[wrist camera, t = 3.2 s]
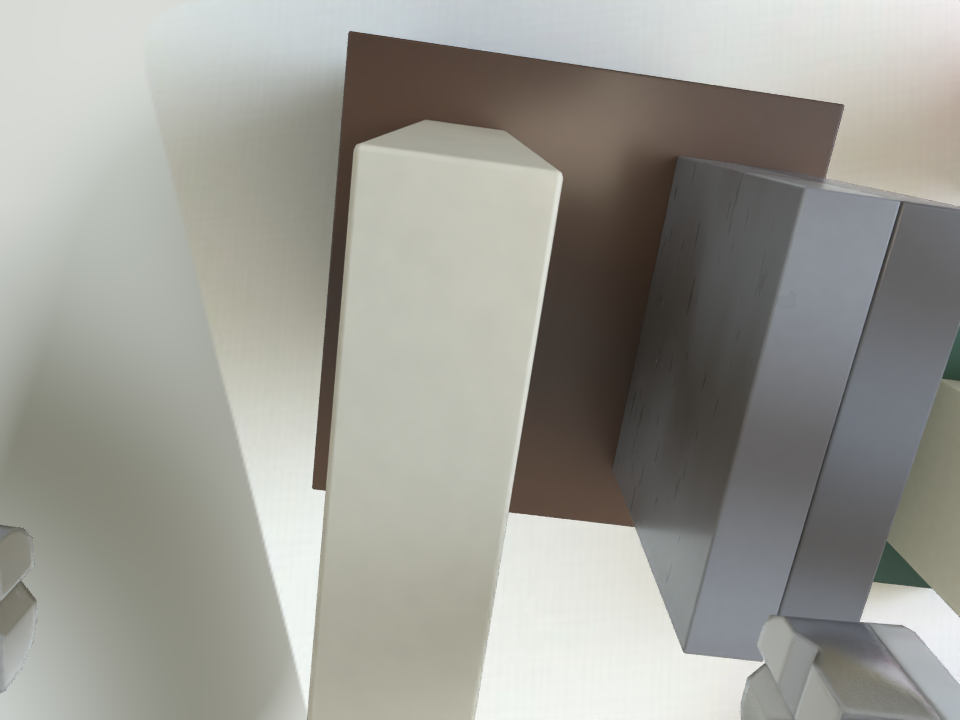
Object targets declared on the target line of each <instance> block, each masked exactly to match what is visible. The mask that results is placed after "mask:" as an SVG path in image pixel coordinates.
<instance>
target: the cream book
mask: <svg viewBox="0 0 960 720" xmlns="http://www.w3.org/2000/svg"><path fill="white" fill-rule="evenodd" d="M562 182H563V176H562V173H561V172H560V171H559V170H557V169H556V168H555V167H553V166H552V165H550V164H549V163H548V162H546V161H545V160H544V159H542V158H541V157H540V156H538V155H537V154H536V153H534V152H533V151H532V150H530V149H529V148H528V147H526V146H525V145H523V144H522V143H521V142H519V141H518V140H517V139H515V138H514V137H513V136H511V135H510V134H509V133H507V132H506V131H503V130H496V129H489V128H482V127H475V126H468V125H460V124H453V123H446V122H439V121H432V120H423V121H420V122H418V123H415V124H412V125H409V126H407V127H404V128H401V129H398V130H396V131H393V132H390V133H387V134H384V135H382V136H379V137H376V138H373V139H371V140H368V141H365V142H362V143H360V144H357V145H356V147H355V148H354V153H353V165H352V177H351V189H350V201H349V214H348V226H347V238H346V250H345V262H344V275H343V287H342V299H341V311H340V323H339V336H338V348H337V360H336V372H335V384H334V396H333V409H332V421H331V433H330V445H329V457H328V470H327V482H326V494H325V506H324V518H323V531H322V543H321V555H320V567H319V579H318V592H317V604H316V616H315V628H314V640H313V653H312V665H311V677H310V689H309V701H308V714H307V720H475V714H476V708H477V702H478V696H479V690H480V684H481V678H482V672H483V665H484V659H485V653H486V647H487V641H488V635H489V629H490V623H491V617H492V610H493V604H494V598H495V592H496V586H497V580H498V574H499V568H500V561H501V555H502V549H503V543H504V537H505V531H506V525H507V519H508V513H509V506H510V500H511V494H512V488H513V482H514V476H515V470H516V464H517V458H518V451H519V445H520V439H521V433H522V427H523V421H524V415H525V409H526V402H527V396H528V390H529V384H530V378H531V372H532V366H533V360H534V354H535V347H536V341H537V335H538V329H539V323H540V317H541V311H542V305H543V299H544V292H545V286H546V280H547V274H548V268H549V262H550V256H551V250H552V243H553V237H554V231H555V225H556V219H557V213H558V207H559V201H560V195H561V188H562Z"/></svg>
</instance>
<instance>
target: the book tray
mask: <svg viewBox="0 0 960 720" xmlns="http://www.w3.org/2000/svg"><path fill="white" fill-rule="evenodd" d="M873 582H879V583H888V584H897V585H905V586H914V587H923V588H931V589H933V590H934V591H935V592H936V593H937V594H938V595H939V596H940V597H941V598H942V599H943V600H944V601H945V602H946V603H947V605H948V606H949V607H950V608H951V609H952V610H953V611H954V612H955V613H956V614H957V615H958V616H959V617H960V326H959V329H958V332H957V335H956V338H955V341H954V344H953V347H952V350H951V352H950V355H949V358H948V361H947V364H946V367H945V370H944V373H943V376H942V379H941V382H940V385H939V388H938V391H937V394H936V397H935V400H934V403H933V406H932V409H931V412H930V414H929V417H928V420H927V423H926V426H925V429H924V432H923V435H922V438H921V441H920V444H919V447H918V450H917V453H916V456H915V459H914V462H913V465H912V468H911V471H910V474H909V476H908V479H907V482H906V485H905V488H904V491H903V494H902V497H901V500H900V503H899V506H898V509H897V512H896V515H895V518H894V521H893V524H892V527H891V530H890V533H889V536H888V538H887V541H886V544H885V547H884V550H883V553H882V556H881V559H880V562H879V565H878V568H877V571H876V574H875V577H874V580H873Z"/></svg>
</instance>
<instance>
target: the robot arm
mask: <svg viewBox="0 0 960 720" xmlns="http://www.w3.org/2000/svg"><path fill="white" fill-rule="evenodd" d="M34 565H35V560H34V548H33V537H32V536H31V535H29V533H28V532H27V531H26V530H25V529H24V528H20V527H13V526H4V525H0V693H2V692H4V691H6V689H7V688H8V687H9V686H10V684H11V683H12V682H13V680H14V679H15V678H16V676H17V675H18V674H19V672H20V671H21V670H22V667H23V665H24V663H25V661H26V658H27V656H28V653H29V651H30V649H31V646H32V644H33V641H34V635H35V629H36V623H37V605H36V604H37V601H36V599H35V598H34V596H33V595H32V594H31V593H30V591H29V590H28V589H27V588H26V586H25V585H24V584H23V582H22V581H21V580H22V579H23V577H25V575H26V574H27V573H28V572H29V571H30V570H31V568H32V567H33V566H34ZM757 646H758V649H759V651H760V653H761V655H762V657H763V659H764V661H765V664H763V665H762V666H761V667H760V668H759V669H757V670H756V671H755V672H754V673H753V674H751V675H750V676H749V677H748V678H747V681H746V685H745V689H744V693H743V697H742V701H741V720H960V685H959V683H958V682H957V681H956V680H955V679H954V677H953V676H952V675H951V674H950V673H949V672H948V670H947V669H946V668H945V667H944V666H943V664H942V663H941V662H940V661H939V660H938V659H937V657H936V656H935V655H934V654H933V653H932V652H931V650H930V649H929V648H928V647H927V646H926V644H925V643H924V642H923V641H922V640H921V639H920V637H919V636H918V635H917V634H916V633H915V632H914V631H912V630H910V629H908V628H906V627H904V626H902V625H891V624H878V623H865V622H858V623H857V622H847V621H836V620H825V619H814V618H803V617H792V616H781V615H770V616H769V618H768V619H767V621H766V622H765V624H764V625H763V627H762V630H761V633H760V636H759V640H758V643H757Z"/></svg>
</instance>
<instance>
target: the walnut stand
mask: <svg viewBox="0 0 960 720" xmlns="http://www.w3.org/2000/svg"><path fill="white" fill-rule="evenodd" d="M843 110H844V105H843V104H837V103H830V102H824V101H817V100H810V99H803V98H797V97H790V96H783V95H777V94H770V93H763V92H756V91H750V90H743V89H736V88H730V87H723V86H716V85H709V84H703V83H696V82H689V81H682V80H676V79H669V78H662V77H656V76H649V75H642V74H635V73H629V72H622V71H615V70H609V69H602V68H595V67H588V66H582V65H575V64H568V63H561V62H555V61H548V60H541V59H535V58H528V57H521V56H514V55H508V54H501V53H494V52H488V51H481V50H474V49H467V48H461V47H454V46H447V45H440V44H434V43H427V42H420V41H414V40H407V39H400V38H393V37H387V36H380V35H373V34H367V33H360V32H353V31H350V32H349V33H348V46H347V58H346V71H345V83H344V96H343V108H342V121H341V133H340V146H339V158H338V171H337V183H336V196H335V208H334V221H333V233H332V246H331V259H330V271H329V284H328V296H327V309H326V321H325V334H324V346H323V359H322V371H321V384H320V396H319V409H318V421H317V434H316V446H315V459H314V471H313V484H312V488H313V489H317V490H325V491H326V482H327V470H328V457H329V445H330V433H331V421H332V409H333V396H334V384H335V372H336V360H337V348H338V336H339V323H340V311H341V299H342V287H343V275H344V262H345V250H346V238H347V226H348V214H349V201H350V189H351V177H352V165H353V153H354V148H355V147H356V145H357V144H360V143H362V142H365V141H368V140H371V139H373V138H376V137H379V136H382V135H384V134H387V133H390V132H393V131H396V130H398V129H401V128H404V127H407V126H409V125H412V124H415V123H418V122H420V121H423V120H432V121H439V122H446V123H453V124H460V125H468V126H475V127H482V128H489V129H496V130H503V131H506V132H507V133H509V134H510V135H511V136H513V137H514V138H515V139H517V140H518V141H519V142H521V143H522V144H523V145H525V146H526V147H528V148H529V149H530V150H532V151H533V152H534V153H536V154H537V155H538V156H540V157H541V158H542V159H544V160H545V161H546V162H548V163H549V164H550V165H552V166H553V167H555V168H556V169H557V170H559V171H560V172H561V173H562V176H563V182H562V188H561V195H560V201H559V207H558V213H557V219H556V225H555V231H554V237H553V243H552V250H551V256H550V262H549V268H548V274H547V280H546V286H545V292H544V299H543V305H542V311H541V317H540V323H539V329H538V335H537V341H536V347H535V354H534V360H533V366H532V372H531V378H530V384H529V390H528V396H527V402H526V409H525V415H524V421H523V427H522V433H521V439H520V445H519V451H518V458H517V464H516V470H515V476H514V482H513V488H512V494H511V500H510V506H509V512H512V513H520V514H528V515H537V516H545V517H554V518H562V519H571V520H579V521H588V522H596V523H605V524H613V525H622V526H630V527H635V529H636V531H637V534H638V536H639V539H640V542H641V544H642V547H643V549H644V552H645V554H646V557H647V560H648V562H649V565H650V567H651V570H652V573H653V575H654V578H655V580H656V583H657V586H658V588H659V591H660V593H661V596H662V598H663V601H664V604H665V606H666V609H667V611H668V614H669V617H670V619H671V622H672V624H673V627H674V629H675V632H676V635H677V637H678V640H679V642H680V645H681V648H682V650H683V652H684V653H687V654H696V655H705V656H714V657H723V658H733V659H742V660H751V661H760V662H762V661H763V660H764V659H763V657H762V655H761V653H760V651H759V649H758V646H757V643H758V640H759V636H760V633H761V630H762V627H763V625H764V624H765V622H766V621H767V619H768V618H769V616H770V615H781V616H792V617H803V618H814V619H825V620H836V621H847V622H857V623H858V622H859V621H860V618H861V615H862V612H863V609H864V606H865V603H866V600H867V598H868V595H869V592H870V589H871V586H872V583H873V580H874V577H875V574H876V571H877V568H878V565H879V562H880V559H881V556H882V553H883V550H884V547H885V544H886V541H887V538H888V536H889V533H890V530H891V527H892V524H893V521H894V518H895V515H896V512H897V509H898V506H899V503H900V500H901V497H902V494H903V491H904V488H905V485H906V482H907V479H908V476H909V474H910V471H911V468H912V465H913V462H914V459H915V456H916V453H917V450H918V447H919V444H920V441H921V438H922V435H923V432H924V429H925V426H926V423H927V420H928V417H929V414H930V412H931V409H932V406H933V403H934V400H935V397H936V394H937V391H938V388H939V385H940V382H941V379H942V376H943V373H944V370H945V367H946V364H947V361H948V358H949V355H950V352H951V350H952V347H953V344H954V341H955V338H956V335H957V332H958V329H959V326H960V206H955V205H950V204H945V203H941V202H936V201H931V200H926V199H921V198H917V197H912V196H907V195H902V194H897V193H893V192H888V191H883V190H878V189H874V188H869V187H864V186H859V185H854V184H850V183H845V182H840V181H835V180H831V179H826V178H825V177H826V173H827V169H828V166H829V162H830V158H831V154H832V151H833V147H834V143H835V140H836V136H837V132H838V128H839V125H840V121H841V117H842V113H843Z"/></svg>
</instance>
